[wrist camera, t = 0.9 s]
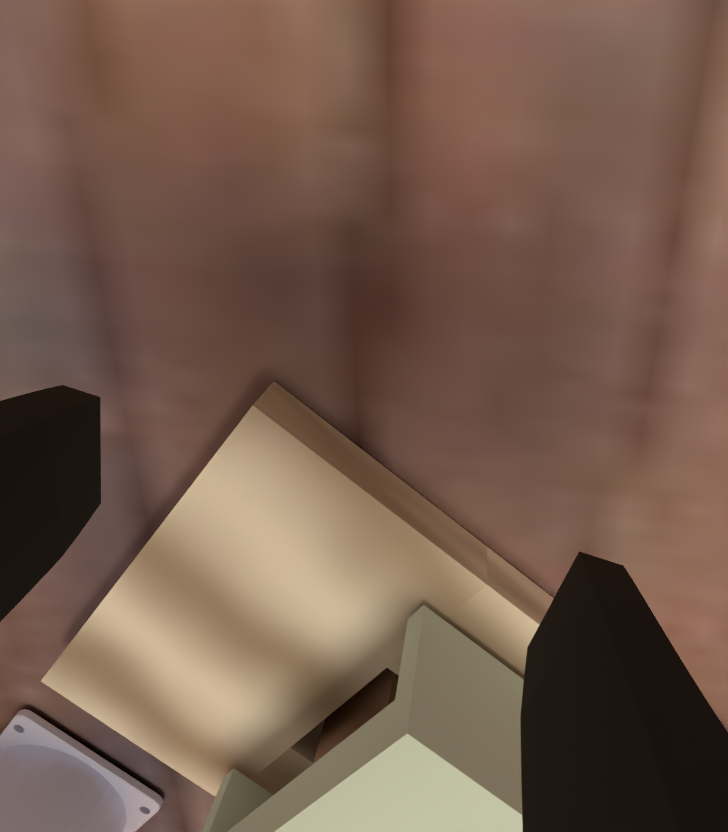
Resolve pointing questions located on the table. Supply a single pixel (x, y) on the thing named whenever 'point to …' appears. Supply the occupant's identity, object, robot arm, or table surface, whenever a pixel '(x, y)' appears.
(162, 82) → the table surface
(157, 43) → the table surface
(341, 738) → the walnut block
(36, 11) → the table surface
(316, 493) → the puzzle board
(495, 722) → the slide cover
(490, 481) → the table surface
